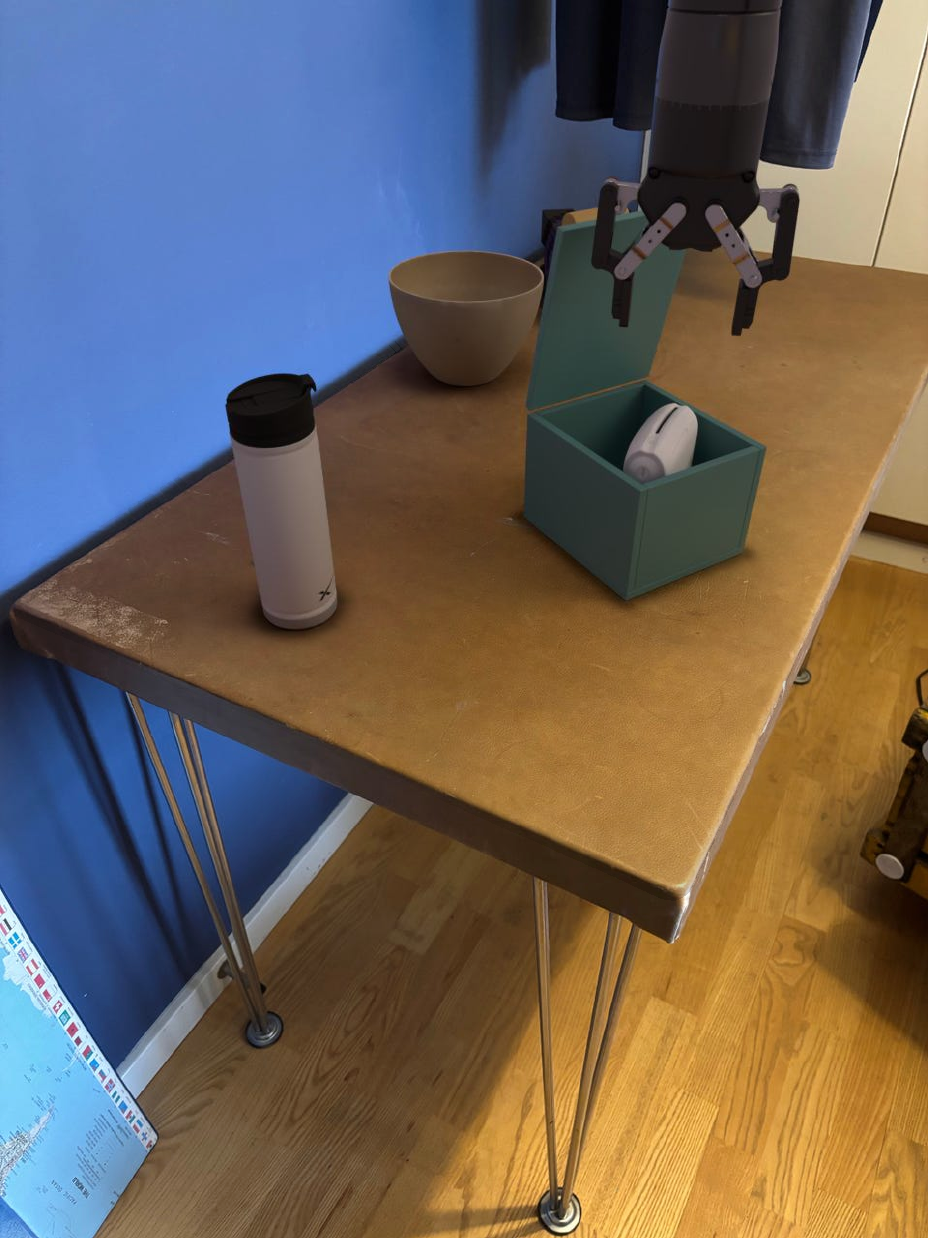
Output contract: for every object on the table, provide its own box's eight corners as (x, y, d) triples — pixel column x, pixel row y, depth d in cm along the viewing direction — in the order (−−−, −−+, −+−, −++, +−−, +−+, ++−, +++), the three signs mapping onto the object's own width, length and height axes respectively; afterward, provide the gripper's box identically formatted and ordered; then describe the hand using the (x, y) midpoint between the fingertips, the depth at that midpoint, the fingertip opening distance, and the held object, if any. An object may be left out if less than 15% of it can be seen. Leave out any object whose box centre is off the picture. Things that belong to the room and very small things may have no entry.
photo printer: (653, 577, 79) (672, 448, 71) (606, 564, 80) (620, 437, 72) (687, 519, 86) (708, 396, 78) (643, 508, 87) (660, 387, 79)
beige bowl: (469, 419, 104) (468, 313, 96) (364, 374, 113) (356, 274, 106) (568, 371, 114) (575, 272, 106) (464, 333, 123) (463, 240, 116)
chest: (743, 553, 83) (767, 446, 76) (625, 601, 77) (640, 491, 70) (633, 478, 93) (645, 379, 86) (522, 516, 88) (526, 413, 81)
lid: (700, 204, 73) (659, 175, 76) (563, 231, 68) (524, 199, 71) (648, 376, 86) (615, 347, 89) (529, 411, 80) (498, 378, 83)
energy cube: (538, 295, 134) (542, 209, 127) (618, 291, 135) (626, 205, 128) (554, 326, 125) (559, 235, 118) (639, 321, 126) (649, 231, 119)
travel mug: (350, 619, 76) (325, 395, 63) (272, 638, 74) (230, 411, 61) (330, 577, 80) (303, 360, 68) (256, 595, 78) (214, 375, 66)
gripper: (598, 96, 59) (582, 339, 69) (828, 102, 56) (776, 354, 67) (611, 77, 65) (593, 305, 75) (820, 82, 62) (773, 317, 72)
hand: (679, 328), depth 71 cm, fingers open, 8 cm apart
